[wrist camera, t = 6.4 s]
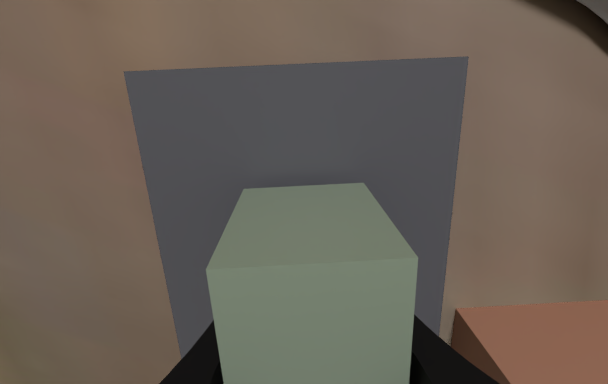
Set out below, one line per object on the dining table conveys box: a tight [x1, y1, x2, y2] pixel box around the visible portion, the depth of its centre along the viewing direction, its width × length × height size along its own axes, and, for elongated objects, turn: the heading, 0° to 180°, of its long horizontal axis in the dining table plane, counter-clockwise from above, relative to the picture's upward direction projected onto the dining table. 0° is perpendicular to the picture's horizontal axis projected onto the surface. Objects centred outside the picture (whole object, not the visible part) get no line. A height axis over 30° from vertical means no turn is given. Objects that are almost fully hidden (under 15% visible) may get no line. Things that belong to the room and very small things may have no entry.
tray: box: [124, 57, 468, 358], centre depth 14 cm, size 18×11×2 cm, turn 2°
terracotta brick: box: [451, 300, 608, 384], centre depth 14 cm, size 8×4×5 cm, turn 92°
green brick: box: [206, 183, 418, 384], centre depth 10 cm, size 8×4×5 cm, turn 3°
